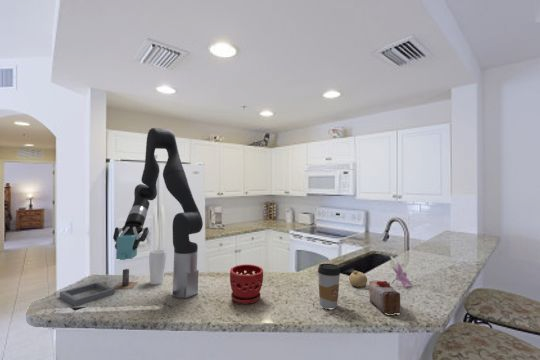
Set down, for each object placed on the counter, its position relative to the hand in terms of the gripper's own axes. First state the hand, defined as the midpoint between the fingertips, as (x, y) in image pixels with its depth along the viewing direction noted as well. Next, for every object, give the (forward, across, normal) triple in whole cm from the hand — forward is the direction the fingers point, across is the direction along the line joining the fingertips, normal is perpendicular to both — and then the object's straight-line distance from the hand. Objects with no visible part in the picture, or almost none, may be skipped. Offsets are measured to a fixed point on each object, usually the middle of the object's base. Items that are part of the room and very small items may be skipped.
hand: (125, 248), depth 111 cm
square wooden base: (+11, 0, +13) cm, 17 cm away
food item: (+30, +102, -4) cm, 106 cm away
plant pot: (+22, +50, +4) cm, 55 cm away
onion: (+14, +102, +12) cm, 104 cm away
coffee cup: (+28, +81, -2) cm, 85 cm away
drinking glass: (+9, +12, +16) cm, 22 cm away
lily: (+16, +122, +10) cm, 124 cm away
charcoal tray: (+18, -10, +6) cm, 21 cm away
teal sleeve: (+1, 0, +4) cm, 4 cm away
